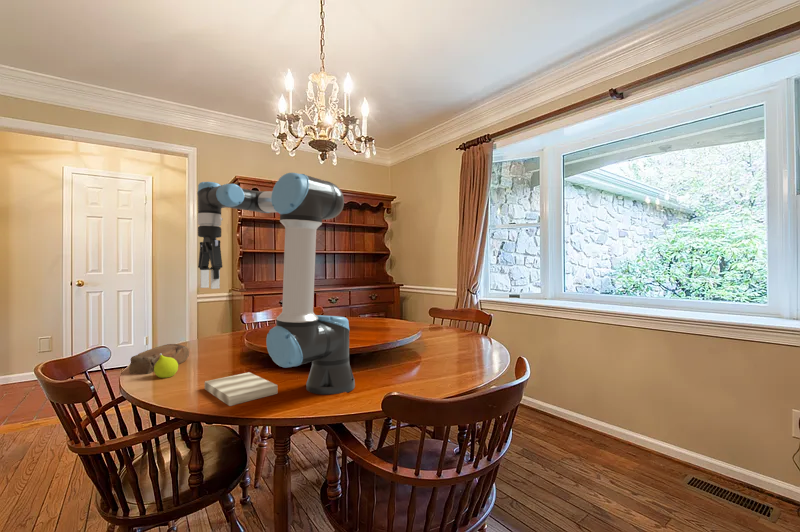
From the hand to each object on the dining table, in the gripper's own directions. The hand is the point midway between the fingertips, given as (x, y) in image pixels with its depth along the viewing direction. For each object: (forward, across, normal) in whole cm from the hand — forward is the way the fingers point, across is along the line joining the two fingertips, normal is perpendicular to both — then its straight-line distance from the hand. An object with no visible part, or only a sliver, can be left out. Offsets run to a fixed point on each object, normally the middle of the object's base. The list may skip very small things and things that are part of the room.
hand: (209, 288), depth 131 cm
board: (+31, -27, 0) cm, 41 cm away
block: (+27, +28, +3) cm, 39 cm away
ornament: (+31, +6, +12) cm, 34 cm away
